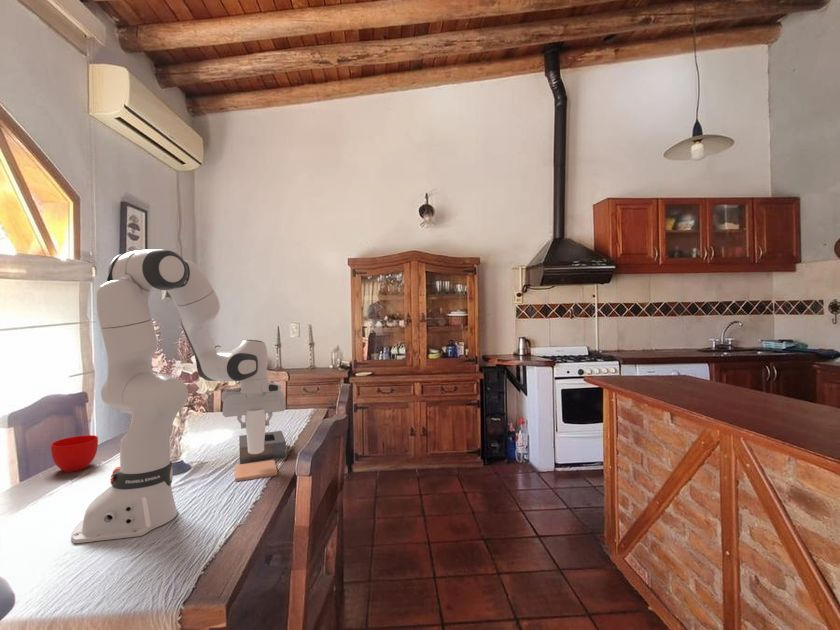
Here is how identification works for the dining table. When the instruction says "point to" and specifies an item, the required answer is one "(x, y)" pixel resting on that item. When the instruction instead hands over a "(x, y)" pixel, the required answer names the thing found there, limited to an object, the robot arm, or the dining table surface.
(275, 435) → the holder block
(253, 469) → the terracotta tile
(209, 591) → the dining table surface
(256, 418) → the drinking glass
